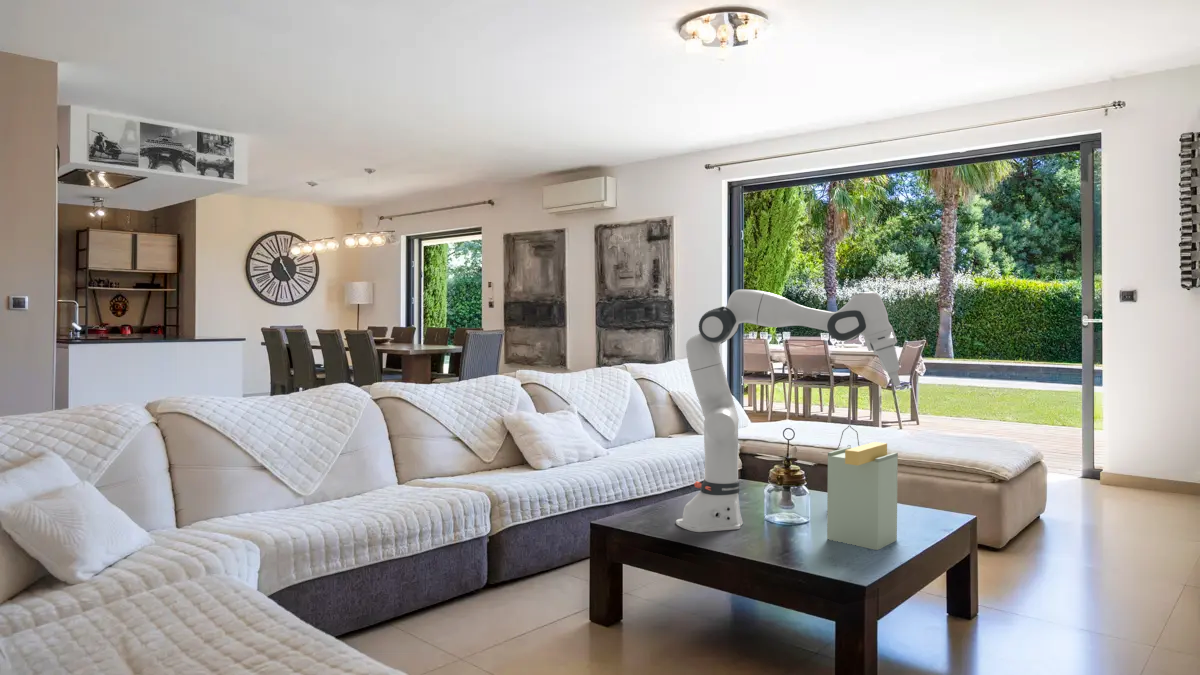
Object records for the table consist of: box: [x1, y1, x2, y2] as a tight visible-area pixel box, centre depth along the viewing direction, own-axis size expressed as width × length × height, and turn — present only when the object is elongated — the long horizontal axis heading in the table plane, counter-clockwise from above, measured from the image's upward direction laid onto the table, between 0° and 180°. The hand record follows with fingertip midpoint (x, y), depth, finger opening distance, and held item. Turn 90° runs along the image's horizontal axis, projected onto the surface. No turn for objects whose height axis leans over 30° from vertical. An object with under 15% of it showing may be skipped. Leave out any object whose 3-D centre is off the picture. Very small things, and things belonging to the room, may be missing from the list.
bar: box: [845, 441, 888, 465], centre depth 232 cm, size 20×4×4 cm, turn 137°
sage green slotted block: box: [826, 446, 899, 551], centre depth 239 cm, size 14×16×27 cm
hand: (896, 384), depth 236 cm, fingers open, 8 cm apart
